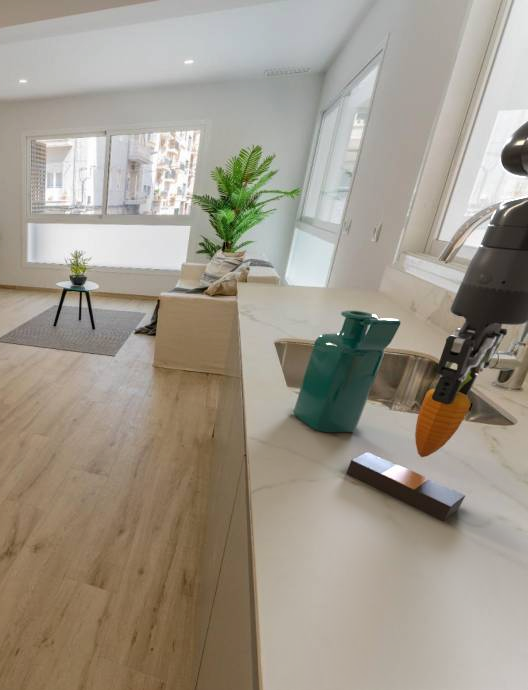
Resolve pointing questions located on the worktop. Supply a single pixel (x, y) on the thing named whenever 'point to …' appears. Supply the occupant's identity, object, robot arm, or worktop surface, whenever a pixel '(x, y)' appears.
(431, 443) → the carrot
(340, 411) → the pitcher
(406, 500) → the snack bar
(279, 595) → the worktop surface
